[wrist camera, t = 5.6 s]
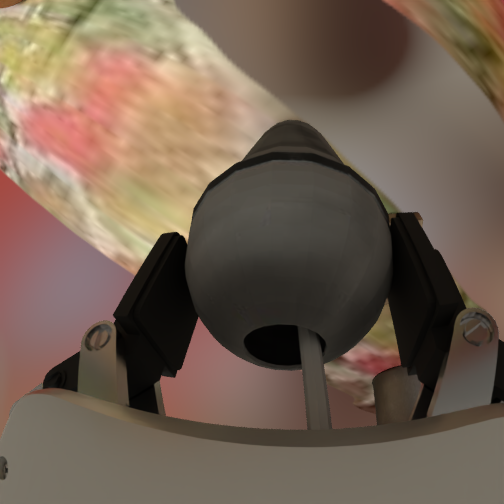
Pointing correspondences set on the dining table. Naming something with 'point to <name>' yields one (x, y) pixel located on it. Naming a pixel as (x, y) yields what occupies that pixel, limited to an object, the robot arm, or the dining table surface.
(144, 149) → the dining table surface
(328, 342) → the beverage cup
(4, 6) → the bread
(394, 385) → the pillar candle
